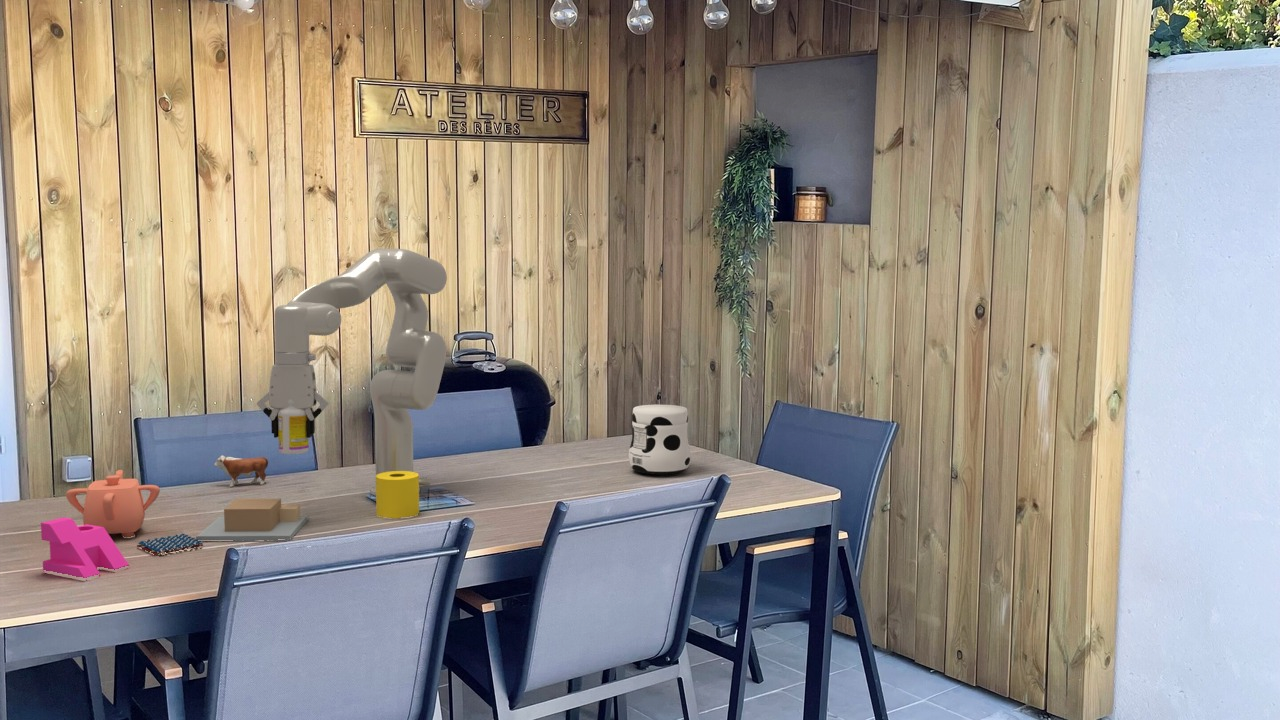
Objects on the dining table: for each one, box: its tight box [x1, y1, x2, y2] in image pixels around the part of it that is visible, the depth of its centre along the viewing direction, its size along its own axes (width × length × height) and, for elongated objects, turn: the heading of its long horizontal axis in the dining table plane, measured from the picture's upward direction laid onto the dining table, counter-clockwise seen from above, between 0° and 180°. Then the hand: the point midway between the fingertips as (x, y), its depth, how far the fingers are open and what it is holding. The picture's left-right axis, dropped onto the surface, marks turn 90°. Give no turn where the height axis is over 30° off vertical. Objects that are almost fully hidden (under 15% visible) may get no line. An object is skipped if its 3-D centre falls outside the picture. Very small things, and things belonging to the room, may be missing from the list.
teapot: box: [65, 469, 161, 537], centre depth 268 cm, size 17×16×13 cm
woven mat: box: [136, 533, 204, 556], centre depth 257 cm, size 10×11×2 cm
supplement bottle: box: [277, 400, 310, 455], centre depth 277 cm, size 7×7×13 cm
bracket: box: [40, 517, 130, 578], centre depth 240 cm, size 12×10×10 cm
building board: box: [195, 498, 309, 542], centre depth 272 cm, size 20×18×6 cm
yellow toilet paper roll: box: [375, 471, 420, 518], centre depth 288 cm, size 10×10×9 cm
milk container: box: [628, 403, 692, 476], centre depth 338 cm, size 17×17×18 cm
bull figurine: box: [213, 455, 269, 488], centre depth 318 cm, size 4×13×8 cm, turn 108°
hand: (293, 436), depth 278 cm, fingers closed on supplement bottle, 6 cm apart
